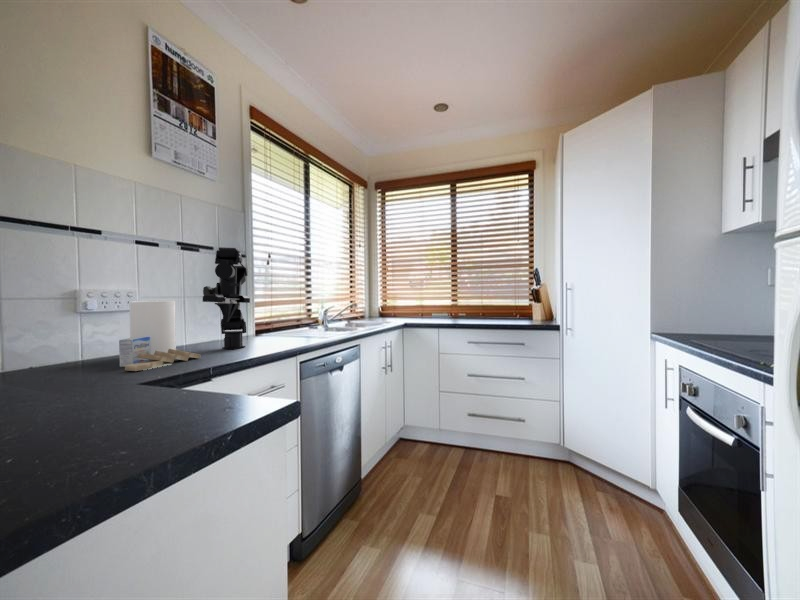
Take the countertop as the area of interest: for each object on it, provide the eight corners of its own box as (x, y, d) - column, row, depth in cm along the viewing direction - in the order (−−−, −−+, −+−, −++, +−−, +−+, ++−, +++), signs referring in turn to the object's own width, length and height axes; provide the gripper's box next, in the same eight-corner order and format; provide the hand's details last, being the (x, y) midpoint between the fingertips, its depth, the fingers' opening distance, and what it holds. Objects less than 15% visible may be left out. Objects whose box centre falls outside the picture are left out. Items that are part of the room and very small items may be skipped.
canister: (176, 357, 128) (175, 301, 127) (129, 361, 120) (128, 302, 119) (175, 351, 139) (174, 300, 138) (131, 355, 131) (130, 301, 131)
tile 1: (194, 353, 127) (168, 348, 120) (200, 354, 125) (175, 349, 118) (193, 357, 127) (167, 352, 119) (199, 358, 125) (173, 354, 117)
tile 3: (168, 358, 118) (138, 353, 111) (174, 358, 116) (143, 353, 109) (167, 362, 118) (136, 357, 111) (173, 362, 116) (142, 357, 109)
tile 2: (183, 355, 123) (155, 350, 116) (188, 356, 121) (160, 351, 114) (182, 359, 123) (153, 354, 116) (187, 360, 120) (158, 355, 114)
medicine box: (133, 367, 111) (132, 339, 111) (119, 367, 111) (118, 339, 111) (151, 362, 119) (150, 336, 119) (138, 362, 119) (137, 336, 119)
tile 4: (153, 360, 114) (124, 365, 105) (163, 360, 112) (135, 366, 104) (153, 364, 114) (124, 370, 105) (163, 365, 113) (135, 371, 104)
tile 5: (163, 362, 116) (134, 368, 108) (171, 363, 115) (143, 369, 106) (163, 366, 116) (134, 372, 108) (171, 368, 115) (143, 374, 106)
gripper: (227, 282, 146) (226, 320, 146) (190, 278, 128) (189, 321, 128) (251, 282, 144) (250, 321, 143) (216, 278, 125) (214, 323, 125)
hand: (226, 321), depth 135 cm, fingers closed
